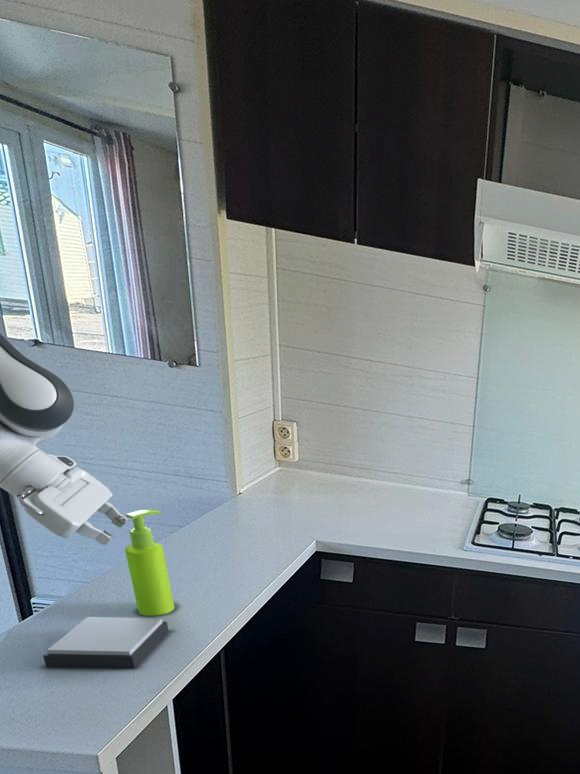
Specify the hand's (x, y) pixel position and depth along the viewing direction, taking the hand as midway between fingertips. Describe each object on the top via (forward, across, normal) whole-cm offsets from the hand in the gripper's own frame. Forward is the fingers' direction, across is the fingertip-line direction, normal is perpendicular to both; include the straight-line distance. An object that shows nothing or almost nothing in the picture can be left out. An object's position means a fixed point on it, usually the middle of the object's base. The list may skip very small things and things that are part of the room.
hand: (117, 532), depth 117 cm
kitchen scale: (+12, -17, +10) cm, 23 cm away
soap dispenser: (+14, -1, +8) cm, 16 cm away
